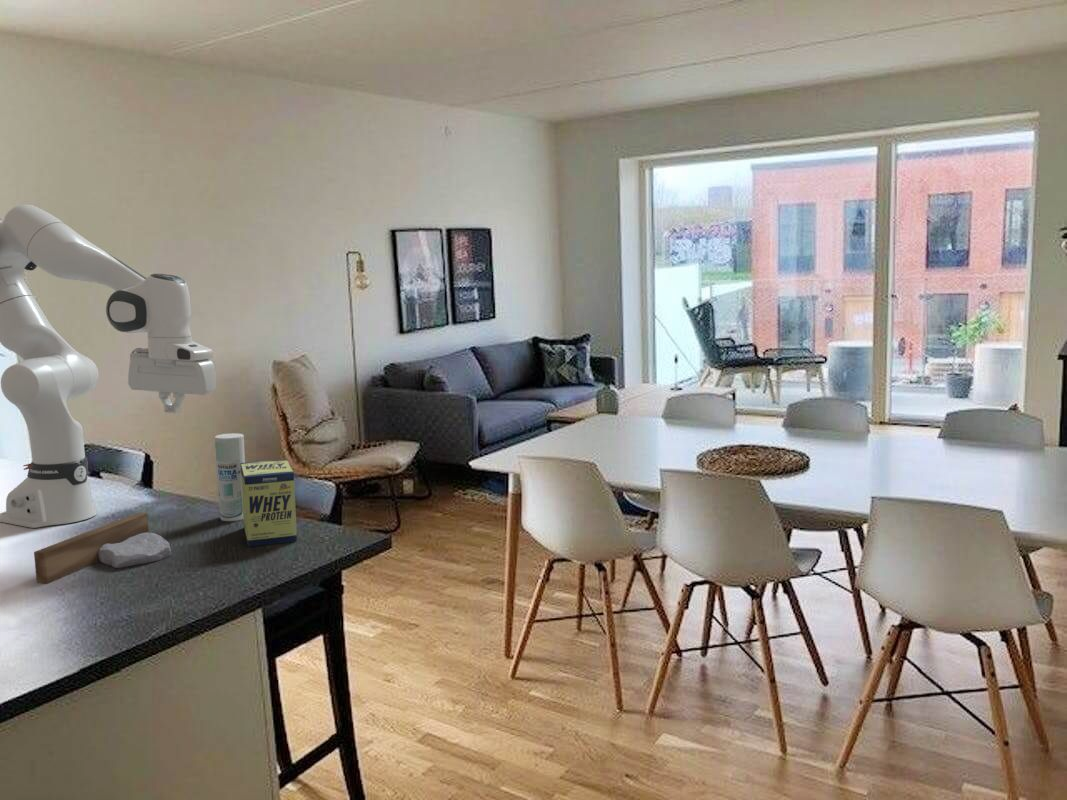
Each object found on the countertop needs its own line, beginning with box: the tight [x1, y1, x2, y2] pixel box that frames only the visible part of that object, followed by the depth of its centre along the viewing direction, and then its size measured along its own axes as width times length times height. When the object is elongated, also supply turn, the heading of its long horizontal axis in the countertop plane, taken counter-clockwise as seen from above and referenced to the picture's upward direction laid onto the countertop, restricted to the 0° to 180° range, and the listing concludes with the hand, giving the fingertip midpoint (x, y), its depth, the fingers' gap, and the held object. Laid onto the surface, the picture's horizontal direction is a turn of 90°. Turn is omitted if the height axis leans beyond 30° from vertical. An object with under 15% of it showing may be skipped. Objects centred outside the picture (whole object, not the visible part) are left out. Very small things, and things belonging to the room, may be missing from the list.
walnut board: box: [33, 512, 150, 584], centre depth 176 cm, size 2×28×6 cm, turn 165°
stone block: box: [98, 532, 172, 569], centre depth 177 cm, size 12×5×10 cm
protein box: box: [240, 459, 298, 548], centre depth 192 cm, size 10×16×16 cm
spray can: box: [214, 432, 246, 522], centre depth 205 cm, size 6×6×20 cm
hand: (172, 412), depth 189 cm, fingers closed
